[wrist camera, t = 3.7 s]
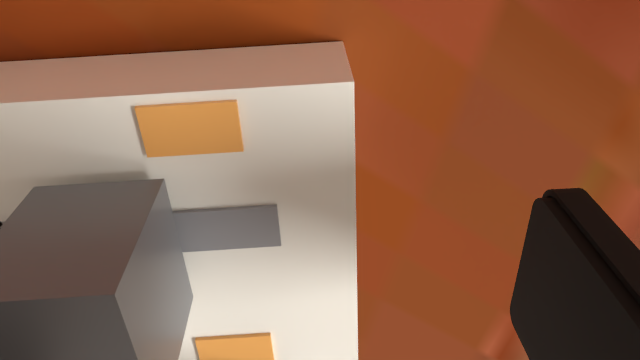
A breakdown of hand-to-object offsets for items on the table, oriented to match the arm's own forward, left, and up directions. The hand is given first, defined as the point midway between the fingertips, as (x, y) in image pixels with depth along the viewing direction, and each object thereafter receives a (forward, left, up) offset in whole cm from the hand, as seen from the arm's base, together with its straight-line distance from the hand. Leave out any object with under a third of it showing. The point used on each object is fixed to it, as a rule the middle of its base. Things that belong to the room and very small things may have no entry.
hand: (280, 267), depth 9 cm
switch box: (+6, -4, -4) cm, 8 cm away
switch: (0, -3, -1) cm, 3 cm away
